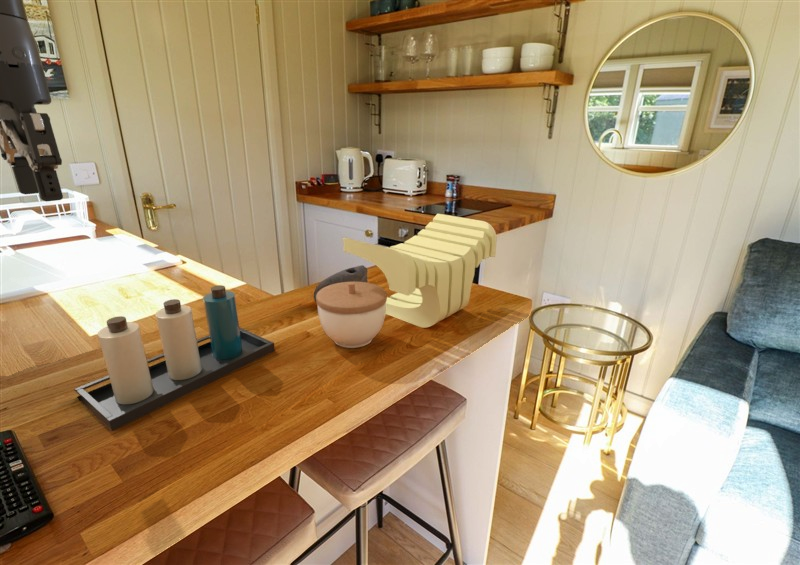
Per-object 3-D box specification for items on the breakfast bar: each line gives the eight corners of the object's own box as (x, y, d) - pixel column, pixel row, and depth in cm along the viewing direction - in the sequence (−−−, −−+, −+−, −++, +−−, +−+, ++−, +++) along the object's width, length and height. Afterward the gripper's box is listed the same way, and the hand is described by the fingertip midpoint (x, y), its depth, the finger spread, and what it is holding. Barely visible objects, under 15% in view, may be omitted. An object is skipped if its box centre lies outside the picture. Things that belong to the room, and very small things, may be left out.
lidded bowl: (392, 352, 74) (392, 294, 70) (319, 359, 72) (315, 299, 68) (381, 321, 86) (380, 270, 82) (318, 326, 83) (314, 273, 80)
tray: (77, 401, 61) (74, 388, 60) (235, 334, 80) (234, 324, 79) (112, 434, 54) (109, 421, 53) (275, 353, 74) (274, 342, 73)
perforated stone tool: (321, 313, 89) (319, 282, 87) (307, 306, 93) (305, 276, 90) (375, 295, 99) (375, 267, 96) (361, 289, 102) (360, 262, 100)
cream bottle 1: (109, 396, 61) (88, 321, 56) (144, 381, 64) (127, 309, 60) (124, 409, 58) (103, 331, 54) (160, 392, 62) (143, 318, 57)
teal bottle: (206, 354, 72) (195, 288, 68) (232, 343, 76) (222, 280, 71) (223, 363, 69) (212, 295, 65) (248, 351, 73) (239, 286, 69)
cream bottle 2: (162, 373, 66) (147, 303, 62) (191, 360, 70) (179, 293, 66) (178, 384, 64) (163, 311, 59) (208, 370, 67) (195, 300, 63)
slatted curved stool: (407, 349, 75) (409, 253, 69) (346, 323, 85) (343, 236, 79) (491, 300, 97) (498, 223, 90) (434, 283, 106) (437, 213, 100)
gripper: (-55, 61, 52) (-11, 195, 57) (-26, 51, 44) (22, 207, 50) (22, 68, 57) (56, 188, 63) (61, 60, 50) (95, 199, 55)
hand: (41, 196), depth 56 cm, fingers open, 8 cm apart
